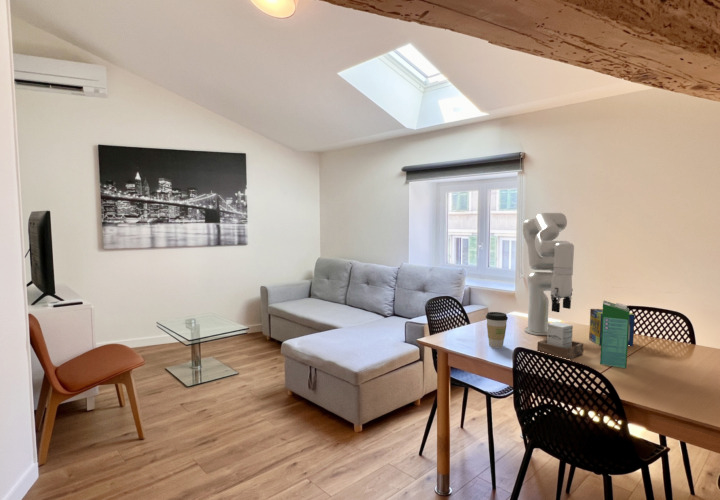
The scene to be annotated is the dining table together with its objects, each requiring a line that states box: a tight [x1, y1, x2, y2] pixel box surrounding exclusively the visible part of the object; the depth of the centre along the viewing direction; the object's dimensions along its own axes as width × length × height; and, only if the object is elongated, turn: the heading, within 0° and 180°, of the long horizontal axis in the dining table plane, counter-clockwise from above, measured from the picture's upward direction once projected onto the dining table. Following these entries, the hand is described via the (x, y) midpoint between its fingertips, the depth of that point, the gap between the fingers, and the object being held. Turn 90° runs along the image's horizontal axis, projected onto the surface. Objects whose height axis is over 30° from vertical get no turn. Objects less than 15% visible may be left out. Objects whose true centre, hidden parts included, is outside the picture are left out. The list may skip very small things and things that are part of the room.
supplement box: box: [546, 321, 574, 349], centre depth 178 cm, size 7×7×13 cm
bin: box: [536, 338, 584, 361], centre depth 178 cm, size 13×13×5 cm
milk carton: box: [599, 300, 630, 369], centre depth 166 cm, size 9×9×25 cm
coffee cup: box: [485, 311, 508, 349], centre depth 190 cm, size 10×10×15 cm
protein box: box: [588, 308, 636, 347], centre depth 194 cm, size 10×15×16 cm
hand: (561, 309), depth 178 cm, fingers open, 9 cm apart
